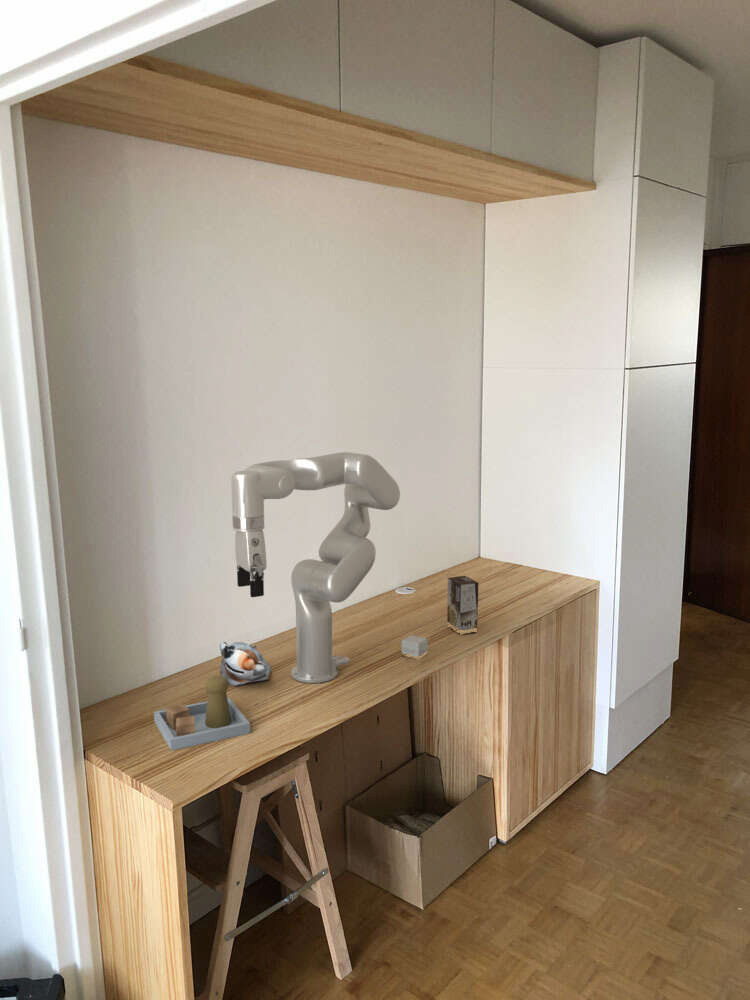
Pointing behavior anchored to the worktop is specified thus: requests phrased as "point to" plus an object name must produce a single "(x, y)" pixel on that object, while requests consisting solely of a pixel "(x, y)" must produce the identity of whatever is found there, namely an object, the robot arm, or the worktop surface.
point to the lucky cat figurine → (243, 664)
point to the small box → (414, 646)
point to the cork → (217, 703)
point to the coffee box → (462, 602)
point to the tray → (202, 727)
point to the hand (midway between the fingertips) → (250, 591)
